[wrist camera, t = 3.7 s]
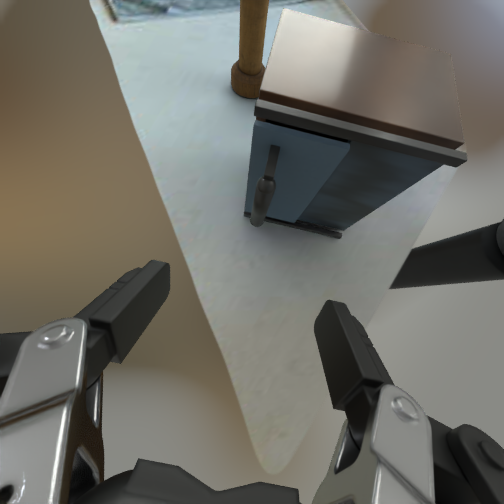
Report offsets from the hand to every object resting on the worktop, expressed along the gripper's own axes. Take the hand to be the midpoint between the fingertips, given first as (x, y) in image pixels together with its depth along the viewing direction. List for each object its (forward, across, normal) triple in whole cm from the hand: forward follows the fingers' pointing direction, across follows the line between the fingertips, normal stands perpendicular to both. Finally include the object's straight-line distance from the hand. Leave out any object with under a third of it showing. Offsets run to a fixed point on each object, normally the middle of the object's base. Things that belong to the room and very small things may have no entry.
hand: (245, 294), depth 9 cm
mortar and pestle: (+38, +7, -16) cm, 42 cm away
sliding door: (+17, -2, +3) cm, 18 cm away
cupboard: (+24, -5, -2) cm, 25 cm away
